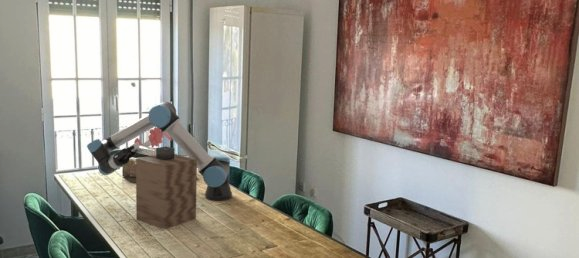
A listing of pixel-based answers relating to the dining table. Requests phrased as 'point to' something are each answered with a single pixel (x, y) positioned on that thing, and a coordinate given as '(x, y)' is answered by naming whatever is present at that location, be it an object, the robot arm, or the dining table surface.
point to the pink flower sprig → (154, 137)
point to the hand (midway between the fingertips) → (144, 143)
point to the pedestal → (166, 190)
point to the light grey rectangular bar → (157, 152)
